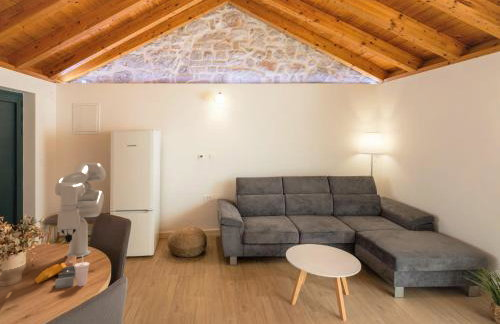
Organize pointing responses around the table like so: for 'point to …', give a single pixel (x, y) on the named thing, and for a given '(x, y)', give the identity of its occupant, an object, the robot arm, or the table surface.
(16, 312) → the table surface
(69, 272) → the book ends
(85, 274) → the pink drink cup
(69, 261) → the peach two-stud bar
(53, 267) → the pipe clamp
